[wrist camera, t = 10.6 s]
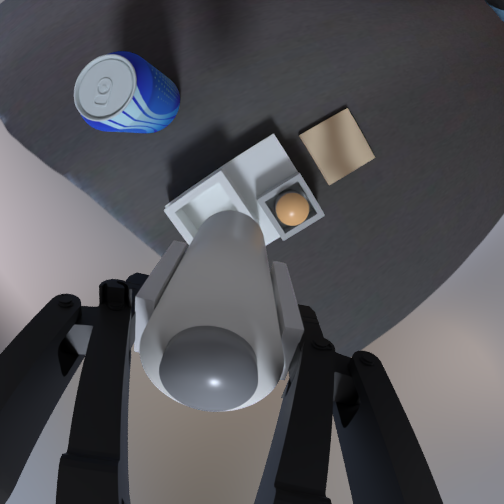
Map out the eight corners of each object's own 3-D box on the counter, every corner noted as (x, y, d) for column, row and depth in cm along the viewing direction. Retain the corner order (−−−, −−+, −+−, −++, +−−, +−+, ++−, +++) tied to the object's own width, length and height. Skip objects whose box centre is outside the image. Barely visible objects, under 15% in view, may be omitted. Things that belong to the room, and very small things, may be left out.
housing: (272, 134, 39) (276, 132, 34) (317, 207, 43) (327, 217, 37) (169, 202, 42) (157, 212, 36) (217, 269, 46) (213, 287, 40)
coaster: (346, 108, 38) (347, 108, 37) (373, 157, 40) (375, 157, 40) (298, 135, 39) (299, 135, 39) (328, 184, 42) (329, 185, 41)
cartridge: (199, 205, 21) (129, 300, 8) (270, 216, 22) (303, 325, 9) (192, 271, 23) (138, 413, 10) (258, 280, 23) (269, 431, 10)
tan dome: (294, 183, 39) (298, 186, 36) (310, 209, 40) (315, 214, 37) (268, 200, 39) (269, 204, 36) (284, 225, 40) (287, 231, 38)
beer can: (114, 103, 37) (52, 90, 22) (159, 64, 35) (115, 29, 20) (147, 145, 39) (94, 149, 24) (194, 106, 38) (163, 86, 23)
